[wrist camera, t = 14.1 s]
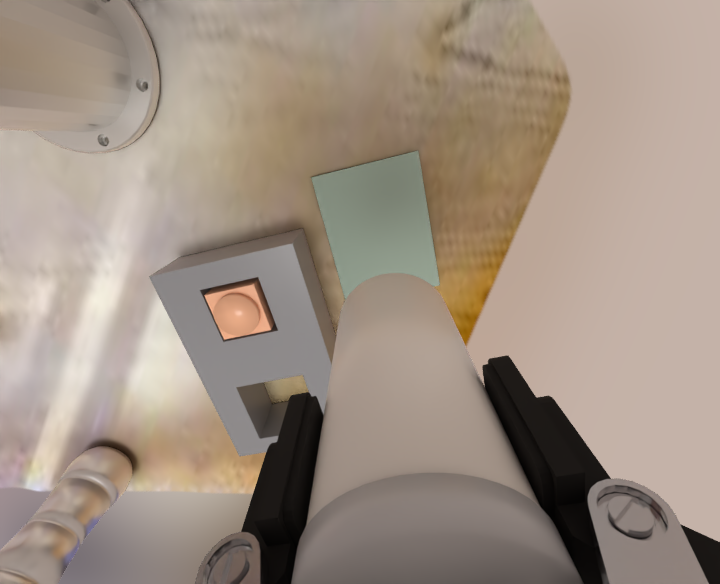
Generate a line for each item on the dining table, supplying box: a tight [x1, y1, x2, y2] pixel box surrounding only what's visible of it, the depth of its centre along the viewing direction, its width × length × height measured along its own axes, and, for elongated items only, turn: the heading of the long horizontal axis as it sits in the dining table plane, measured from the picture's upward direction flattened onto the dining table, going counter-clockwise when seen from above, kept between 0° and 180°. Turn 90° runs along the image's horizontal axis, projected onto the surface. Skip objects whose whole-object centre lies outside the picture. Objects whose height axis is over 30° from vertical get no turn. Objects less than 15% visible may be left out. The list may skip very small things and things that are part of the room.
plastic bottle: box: [0, 446, 132, 584], centre depth 34 cm, size 6×7×20 cm
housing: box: [149, 228, 336, 456], centre depth 34 cm, size 20×12×5 cm, turn 13°
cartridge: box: [291, 273, 583, 584], centre depth 11 cm, size 5×5×11 cm
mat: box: [311, 151, 440, 300], centre depth 31 cm, size 12×9×1 cm
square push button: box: [204, 277, 275, 340], centre depth 31 cm, size 4×4×6 cm
